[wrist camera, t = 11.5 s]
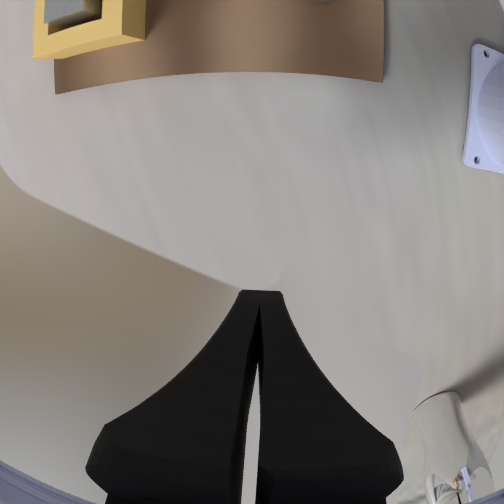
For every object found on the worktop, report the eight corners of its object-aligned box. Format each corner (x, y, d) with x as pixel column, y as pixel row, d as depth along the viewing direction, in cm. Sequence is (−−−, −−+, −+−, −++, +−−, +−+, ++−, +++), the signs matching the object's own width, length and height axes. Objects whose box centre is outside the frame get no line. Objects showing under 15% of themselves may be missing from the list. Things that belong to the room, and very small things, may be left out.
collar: (148, -43, 11) (127, -61, 9) (145, 40, 14) (121, 34, 11) (66, -19, 11) (38, -28, 9) (62, 58, 14) (32, 59, 12)
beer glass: (467, 402, 29) (501, 506, 16) (418, 429, 31) (440, 534, 18) (455, 379, 26) (497, 503, 13) (399, 410, 29) (424, 534, 16)
